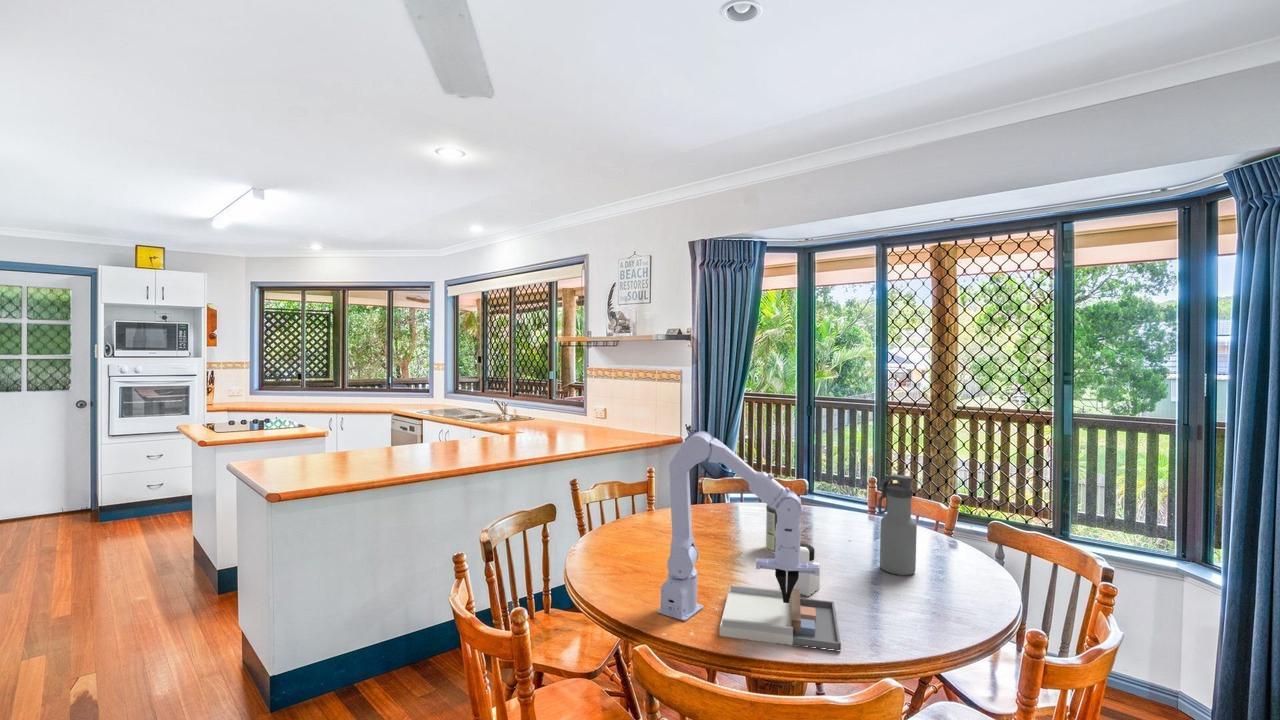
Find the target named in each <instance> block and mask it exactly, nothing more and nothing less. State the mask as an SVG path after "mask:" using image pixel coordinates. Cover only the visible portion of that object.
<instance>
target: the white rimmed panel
mask: <svg viewBox="0 0 1280 720" xmlns="http://www.w3.org/2000/svg"><path fill="white" fill-rule="evenodd" d="M786 593H787V590H786ZM719 636H720V637H727V638H733V639H740V640H747V639H750V640H749V641H755V640H758V641H757V642H762V641H763V642H764V643H771V644H777V643H780V644H779V645H784V644H789V645H788V646H792V645H793V627H791V596H790V600H789V603H783V596H782V592H781V589H776V588H767V587H761V586H760V587H758V586H750V585H741V584H732V583H731V584H730V588H729V589H728V594H727V597H726V600H725V604H724V610H723V612H722V617H721V620H720V625H719ZM763 642H762V643H763Z"/></svg>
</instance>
